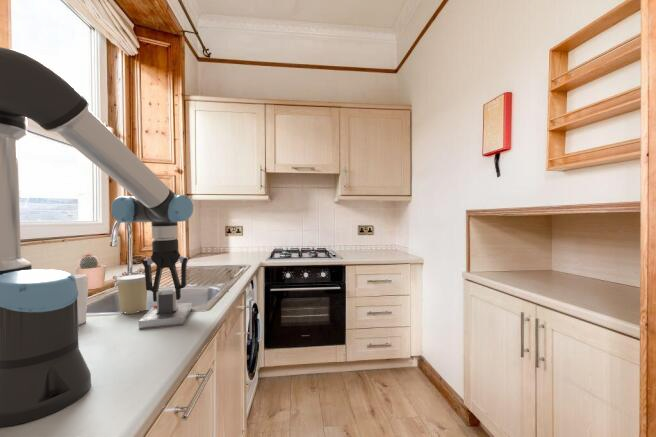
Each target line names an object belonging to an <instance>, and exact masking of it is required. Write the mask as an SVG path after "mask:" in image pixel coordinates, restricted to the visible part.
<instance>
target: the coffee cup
mask: <svg viewBox="0 0 656 437" xmlns="http://www.w3.org/2000/svg"><path fill="white" fill-rule="evenodd" d="M116 283H117V292H118V301H119V310H120V313H121V312H126V313H124V315H129V314H136V313H138V312H137V311H141V312H143V311H146V310H147V302H148V301H147V300H148V291H147V290H146V281H145V274H129V275H125V276H124V275H123V276H120V277H118V278H117V280H116Z"/></svg>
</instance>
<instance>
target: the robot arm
mask: <svg viewBox="0 0 656 437" xmlns="http://www.w3.org/2000/svg"><path fill="white" fill-rule="evenodd" d="M28 119H29V120H31V121H33V122H34V123H36V124H37V125H38V126H39V127H40V128H42V129H43V130H45V131H46V132H55V133H57V134H58V135H59V136H60V137H61V138H62V139H63V140H65V141H66V142H68V143H69V144H70V145H71V146H72V147H74V148H75V149H76V150H77V151H78V152H79V153H80V154H82V155H83V156H84V157H85V158H86V159H88V160H89V161H91V163H93V164H94V165H96V167H98V169H100V170H101V171H102V172H104V174H106V175H107V176H108V177H110V178H111V179H112V180H113V181H114V182H116V183H117V184H118V185H119V186H120V187H122V188H123V189H124V190H125V191H126V192H128V194H130V195H132V196H130V195H126V196H125V195H124V196H123V195H122V196H118V197H116V198H115V199H114V200H113V201H112V202H111V206H110V208H111V210H110V211H111V212H110V213H111V215H112V217H113V219H114V220H115V221H116V222H118V223H125V224H126V223H127V224H132V223H151V238H152V239H153V240H152V241H151V244H152V246H151V247H152V248H151V249H152V254H151V256H150V257H149V258H145V259H143V260H142V261H141V263H142V265H143V267H144V275H145V281H146V290H147V292H152V300H153V302H154V303H155V302H156V304H157V312H159V303H158V295H159V294H160V293H161V292H162V289H160V283H161V278H162V274H163V273H162V272H163V269H164V268H165V269H166V268H168V269H169V271H170V275H171V278H172V281H173V286H174V289H173V290H172V291H173V311H176V310H177V309H178V304H179V303H178V302H179V300H180V299H181V297H182V296H181V292H182V291H181V290H182V289H184V288H185V287H186V286H187V284H188V283H187V281H188V280H187V278H188V277H187V276H188V274H187V273H188V272H187V270H188V268H187V266H188V265H187V264H188V261H189V259H190V258H189V257H188V256H186V257H185V256H183V255H181V254H180V250H179V239H177V238H178V237H179V226H178V222H186V221H188V220H189V219H190V218H191V216H192V214H193V212H194V203H193V201H192V199H191V198H190V197H189V196H187V195H186V194H180V193H177V194H176V193H175V192H174V191H172V190H171V189H170V188H169V187H168V186H167V185H166V184H165V183H164V182H163V181H162V180H161V179H160V178H159V177H158V176H157V175H156V174H155V173H154V172H153V171H152V170H151V169H150V168H149V167H148V166H147V165H146V164H145V163H144V162H143V161H142V160H141V159H140V158H139V157H138V156H137V155H136V154H135V153H134V152H133V151H131V149H130V148H129V147H128V146H127V145H126V144H125V143H123V141H121V139H120V138H118V136H116V135H115V134H114V133H113V131H111V130H110V129H109V128H108V127H107V125H106V124H104V123H103V122H102V121H101V120H100V119H99V118H98V117H97V116H96V115H95V114H94V113H93V111H91V110H90V102H89V101H88V100H87V98H85V97H84V96H83V95H82V94H81V93H80V92H79V91H78V90H77V89H76V88H75V87H74V86H73V85H72V84H70V83H69V82H68V81H67V80H66V79H65V78H64V77H62V76H61V75H59V73H57V72H55V71H54V70H53V69H51V68H50V67H49V66H47V64H44V63H42V62H41V61H39V60H38V59H36V58H34V57H33V56H30V55H28V54H25V53H24V52H22V51H18V50H15V49H11V48H7V47H1V46H0V428H4V427H11V426H15V425H19V424H23V423H28V422H32V421H34V420H39V419H41V418H43V417H46V416H50V415H51V414H53V413H56V412H58V411H60V410H62V409H64V408H66V407H67V406H70V405H72V404H73V403H75V402H77V401H78V400H80V399H81V398H83V396H85V394H86V393H88V391H90V389H91V386H92V376H91V375H92V374H91V370H90V369H89V367H88V364H87V363H86V361H85V358H84V356H83V354H82V352H81V350H80V347H79V346H80V345H79V325H78V305H77V297H78V290H77V284H76V279H75V277H74V276H73V275H74V274H72V273H70V272H68V271H64V270H60V269H49V268H48V269H39V268H38V269H32V267H33V266H32V262H30V261H29V260H28V259H26V258H24V257H23V256H22V254H21V252H22V250H21V249H22V245H21V243H22V242H21V220H20V219H21V218H20V214H21V212H20V188H19V187H20V186H19V185H20V184H19V160H18V158H19V156H18V155H19V153H18V141H19V140H20V139H22V138H24V137H25V136H26V135H27V134H28ZM178 261H180V264H181V265H180V266H181V267H180V268H181V269H180V277H181V278H180V279H179V275H178V271H177V266H176V264H177V263H178ZM153 263H154V265H156V268H155V276H154V279H153V277H152V276H153V275H152V274H153V273H152V264H153ZM153 280H154V281H153Z"/></svg>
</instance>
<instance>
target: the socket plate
mask: <svg viewBox="0 0 656 437" xmlns="http://www.w3.org/2000/svg"><path fill="white" fill-rule="evenodd" d="M192 305H193V303H192V302H181V303H178V309H177V310H176V312H175V313H172V314H160V315H159V312H157V303H155V304H154V305H153V306H152V307H151V308H150V309H149V310H148V311H147V312H146V313H145V314H144V315H143V316H142V317H141V318H140V319H139V320H138V330H142V329H143V330H145V329H153V328H154V329H155V328H163V327H165V328H166V327H172V326H173V327H175V326H183V325H184V323H185V321H186V320H187V318H188V316H190V315H189V314H190V313H191V311H192V310H193V309H192V308H193V307H192ZM191 309H192V310H191Z"/></svg>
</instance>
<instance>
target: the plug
mask: <svg viewBox="0 0 656 437" xmlns="http://www.w3.org/2000/svg"><path fill="white" fill-rule="evenodd" d="M158 303H159V315H160V314H172V313H175V312H176V311H173V290H163V291H162V290H161V293H160V294H159V295H158Z"/></svg>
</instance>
